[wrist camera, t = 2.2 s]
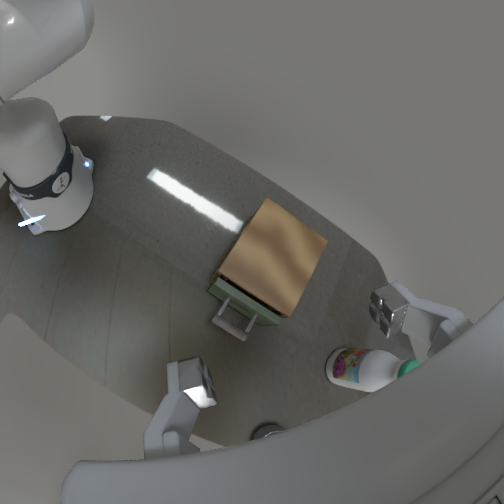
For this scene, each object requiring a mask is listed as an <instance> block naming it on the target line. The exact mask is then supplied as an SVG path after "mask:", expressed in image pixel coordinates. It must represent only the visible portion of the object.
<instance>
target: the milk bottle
mask: <svg viewBox="0 0 504 504" xmlns="http://www.w3.org/2000/svg"><path fill="white" fill-rule="evenodd" d="M419 365H420V363H419V362H418V361H417V360H403V361H401V360H399V359H398V358H396V357H395V356H394V355H393V354H391V353H389V352H386V351H382V350H371V349H348V348H343V349H338V350H336V351H335V352H334V353H333V354H331V356H330V357H329V359H328V361H327V364H326V374H327V377H328V378H329V380H330V381H331V382H332V383H334V384H337V385H340V386H344V387H348V388H352V389H357V390H362V391H367V392H375V391H376V390H378V389H380V388H382V387H384V386H386V385H387V384H389V383H391V382H393V381H394V380H396V379H398V378H399V377H401V376H403V375H404V374H406V373H408V372H409V371H411V370H412V369H414V368H415V367H417V366H419Z"/></svg>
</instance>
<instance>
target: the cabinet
mask: <svg viewBox="0 0 504 504" xmlns="http://www.w3.org/2000/svg"><path fill="white" fill-rule="evenodd" d="M327 242H328V241H327V240H325V239H324V238H323V237H321V236H320V235H319V234H317V233H316V232H315V231H313V230H312V229H311V228H309V227H308V226H306V225H305V224H304V223H302V222H301V221H300V220H298V219H297V218H295V217H294V216H293V215H291V214H290V213H288V212H287V211H286V210H284V209H283V208H281V207H280V206H279V205H277V204H276V203H274V202H273V201H271V200H270V199H269V198H266V199H265V200H264V202H263V203H262V204H261V206H260V207H259V208H258V210H257V211H256V212H255V214H254V215H253V216H252V217H251V219H250V220H249V222H248V223H247V225H246V226H245V228H244V229H243V231H242V232H241V234H240V235H239V237H238V238H237V240H236V241H235V243H234V244H233V246H232V247H231V249H230V250H229V252H228V253H227V255H226V256H225V258H224V259H223V261H222V262H221V264H220V265H219V267H218V268H217V270H216V271H215V273H214V274H213V276H212V277H211V279H210V280H209V282H210V283H212V284H213V282H214V281H215V280H216V279H217V278H218V277H219V278H221V276H222V275H223V276H225V277H226V278H228V279H229V280H231V281H232V282H234V283H235V284H237V285H238V286H240V287H241V288H243V289H244V290H246V291H247V292H249V293H250V294H252V295H253V296H255V297H256V298H258V299H260V300H261V301H263V302H264V303H266V304H267V305H269V306H270V307H272V308H274V309H275V310H273V311H272V312H273V313H275V314H276V315H278V316H279V317H281V318H288V317H290V316H291V315H292V313H293V311H294V309H295V307H296V305H297V303H298V301H299V299H300V297H301V295H302V293H303V291H304V289H305V287H306V285H307V283H308V281H309V279H310V277H311V275H312V273H313V271H314V269H315V267H316V265H317V263H318V261H319V259H320V257H321V255H322V252H323V250H324V248H325V246H326V244H327Z"/></svg>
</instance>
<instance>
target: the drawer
mask: <svg viewBox="0 0 504 504" xmlns="http://www.w3.org/2000/svg"><path fill="white" fill-rule="evenodd" d="M207 291H208V292H210V293H211V294H213V295H214V296H216V297H217V298H219V299H220V300H222V301H223V302H224V303H223V304H222V306H221V308H220V309H219V311H218V312H217V314H215V315H214V316H213V317H212V319H211V322H213V323H214V324H216V325H217V326H219V327H221V328H222V329H224V330H225V331H227V332H229V333H230V334H232V335H234V336H235V337H237V338H239V339H240V340H242V341H245V340H246V339H247V338H248V335H249V334H248V332H249V330H250V329H251V327H252V325H253V323H254V322H257V323H258V324H260V325H261V326H273V325H280V323H281V321H282V319H283V318H281V317H279V316H278V315H276V314H275V313H273V312H272V311H273V310H275V309H274V308H272V307H270V306H269V305H267V304H266V303H264V302H263V301H261V300H260V299H258V298H256V297H255V296H253V295H252V294H250V293H249V292H247V291H246V290H244V289H243V288H241V287H240V286H238V285H237V284H235V283H234V282H232V281H231V280H229V279H228V278H226V277H225V276H223V275H222V276H221V278H219V277H218V278H217V279H216V280H215V281H214V282H213V284H212V285H211V286H210V287H209V289H208V290H207ZM227 304H228V305H230V306H231V307H233V308H234V309H236V310H237V311H239V312H241V313H242V314H244V315H245V316H247V317H249V318H250V319H251V320H250V322H249V323H248V325H247V327H246V328H245V330H244V331H243V330H241V329H239V328H238V327H236V326H235V325H233V324H231V323H230V322H228V321H227V320H225V319H223V318H222V317H220V316H221V314H222V312H223V311H224V309H225V308H226V306H227Z"/></svg>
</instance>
